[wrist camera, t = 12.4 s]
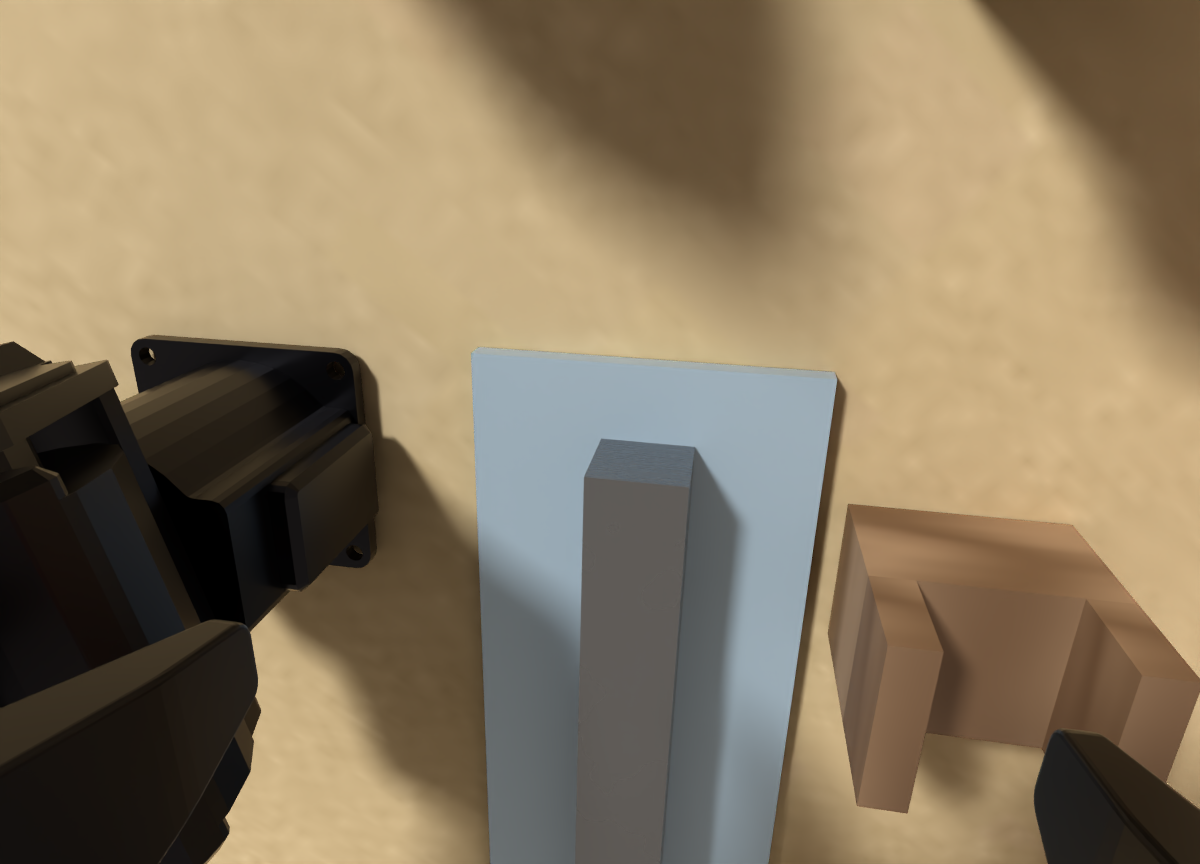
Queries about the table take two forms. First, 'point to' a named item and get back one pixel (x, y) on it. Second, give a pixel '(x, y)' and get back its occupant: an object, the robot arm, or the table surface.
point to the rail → (629, 646)
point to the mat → (711, 589)
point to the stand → (990, 645)
